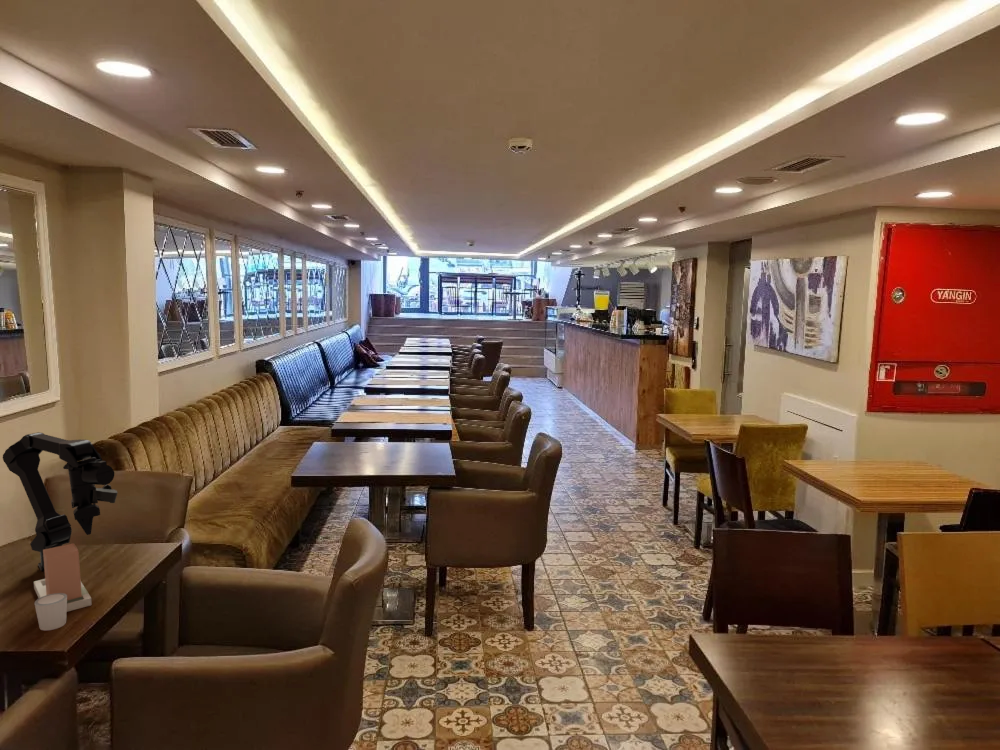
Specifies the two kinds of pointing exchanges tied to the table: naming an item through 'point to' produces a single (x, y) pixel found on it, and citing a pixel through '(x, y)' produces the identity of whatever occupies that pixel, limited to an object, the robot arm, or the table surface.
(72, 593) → the terracotta block
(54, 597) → the white cup
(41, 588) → the trap board
